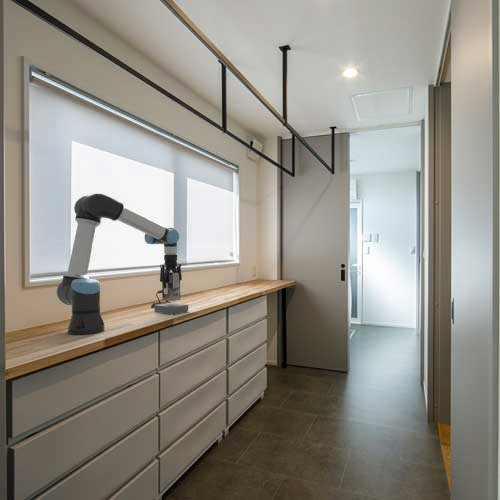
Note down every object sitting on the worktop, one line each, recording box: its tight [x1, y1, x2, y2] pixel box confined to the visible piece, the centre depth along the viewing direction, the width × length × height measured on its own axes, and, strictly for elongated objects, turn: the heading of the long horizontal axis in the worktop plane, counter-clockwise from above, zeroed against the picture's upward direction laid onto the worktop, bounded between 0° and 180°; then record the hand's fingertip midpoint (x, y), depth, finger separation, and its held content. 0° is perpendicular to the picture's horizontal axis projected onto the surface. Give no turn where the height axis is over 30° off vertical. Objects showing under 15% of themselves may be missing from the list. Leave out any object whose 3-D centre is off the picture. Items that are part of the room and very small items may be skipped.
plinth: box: [154, 302, 189, 315], centre depth 216 cm, size 12×16×4 cm
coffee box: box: [161, 271, 181, 302], centre depth 216 cm, size 9×6×16 cm
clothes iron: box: [150, 289, 172, 309], centre depth 237 cm, size 14×10×11 cm
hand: (171, 293), depth 216 cm, fingers closed on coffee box, 7 cm apart
